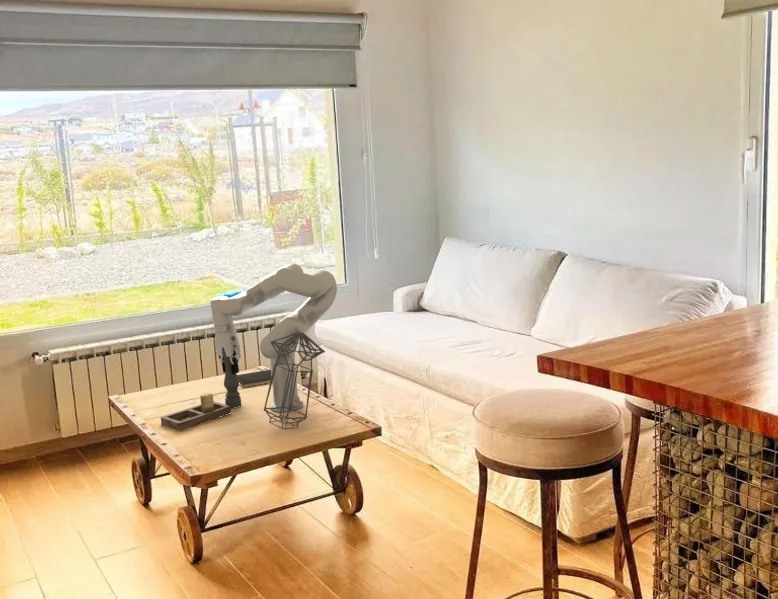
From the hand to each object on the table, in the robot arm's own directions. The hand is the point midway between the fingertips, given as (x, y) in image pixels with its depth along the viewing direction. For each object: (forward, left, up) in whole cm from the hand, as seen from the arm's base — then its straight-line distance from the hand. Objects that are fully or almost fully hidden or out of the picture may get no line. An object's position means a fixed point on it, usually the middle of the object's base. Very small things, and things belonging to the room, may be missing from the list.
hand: (231, 372), depth 343 cm
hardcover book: (+21, -31, -15) cm, 40 cm away
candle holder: (+1, 0, -14) cm, 14 cm away
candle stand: (0, +18, -14) cm, 23 cm away
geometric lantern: (-36, +6, -13) cm, 39 cm away
